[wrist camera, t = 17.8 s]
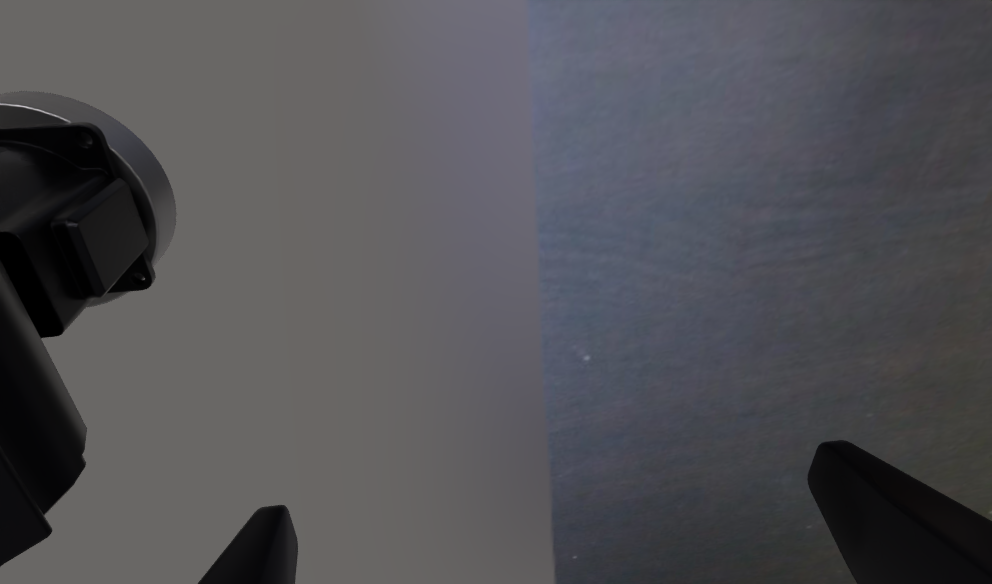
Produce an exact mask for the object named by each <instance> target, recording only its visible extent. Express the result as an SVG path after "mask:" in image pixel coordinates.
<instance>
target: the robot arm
mask: <svg viewBox="0 0 992 584" xmlns="http://www.w3.org/2000/svg"><path fill="white" fill-rule="evenodd" d="M81 132H85V133H87V134H89V135H90V136H91V138H92V144H90V143H87V142H85V141H84V140H83V139H82V137H81ZM148 244H149V241H148V238H147V235H146V232H145V230H144V227H143V224H142V221H141V219H140V216H139V213H138V210H137V208H136V205H135V202H134V199H133V196H132V194H131V191H130V188H129V185H128V184H127V183H126V182H125V181H124V180H122V179H121V178H120V176H119V173H118V171H117V168H116V165H115V162H114V160H113V157H112V154H111V152H110V149H109V146H108V143H107V141H106V138H105V135H104V134H103V132H102V130H101V129H100V128H99V127H97V126H96V125H94V124H92V123H88V122H74V123H57V124H39V125H22V126H4V127H0V566H1V565H3V564H4V563H6V562H7V561H9V560H11V559H13V558H14V557H16V556H17V555H19V554H21V553H23V552H24V551H26V550H27V549H29V548H30V547H32V546H34V545H36V544H37V543H39V542H41V541H42V540H44V539H45V538H47V537H48V536H49V535H50V534H51V532H52V528H51V526H50V525H49V523H48V521H47V520H46V518H45V517H44V515H45V514H46V513H47V512H48V511H49V510H50V509H51V508H52V507H53V506H54V505H55V504H56V503H57V502H58V501H59V500H60V499H61V498H62V497H63V496H64V495H65V494H66V493H67V492H68V491H69V489H70V488H71V487H72V486H73V485H74V483H75V481H76V480H77V478H78V477H79V475H80V474H81V472H82V471H83V469H84V468H85V465H86V462H85V460H84V458H83V456H82V454H83V452H84V449H85V441H86V432H87V428H86V426H85V424H84V422H83V420H82V418H81V416H80V414H79V412H78V410H77V408H76V406H75V404H74V402H73V400H72V398H71V396H70V395H69V393H68V391H67V389H66V387H65V385H64V383H63V381H62V379H61V377H60V375H59V373H58V371H57V369H56V367H55V365H54V363H53V362H52V360H51V358H50V356H49V354H48V352H47V350H46V348H45V346H44V344H43V342H42V340H41V338H45V337H54V336H59V335H61V334H62V333H63V332H64V331H65V330H66V329H67V328H68V327H69V326H70V324H71V323H72V322H73V321H74V320H75V319H76V318H77V317H78V315H80V313H81V312H82V311H83V310H84V309H85V308H86V307H87V306H88V305H89V303H90V302H91V301H92V300H93V299H97V298H102V297H103V296H104V295H105V294H106V293H117V292H128V291H139V290H144V289H147V288H149V287H150V286H151V284H152V283H153V282H154V280H155V272H154V269H153V266H152V263H151V261H150V258H149V255H148V253H147V250H146V247H147V246H148ZM135 273H137V274H141V275H143V276H144V278H145V280H140V279H138V278H137V277H136V276H135ZM808 485H809V488H810V491H811V493H812V495H813V497H814V499H815V501H816V503H817V505H818V507H819V509H820V511H821V513H822V515H823V517H824V519H825V521H826V523H827V525H828V527H829V529H830V531H831V533H832V535H833V538H834V540H835V542H836V544H837V546H838V548H839V550H840V552H841V554H842V556H843V558H844V560H845V562H846V564H847V566H848V568H849V569H850V571H851V573H852V575H853V577H854V578H855V580H856V582H857V584H992V521H990V520H989V519H987V518H985V517H983V516H981V515H980V514H978V513H976V512H974V511H972V510H971V509H969V508H967V507H965V506H963V505H962V504H960V503H958V502H956V501H954V500H953V499H951V498H949V497H947V496H945V495H944V494H942V493H940V492H938V491H936V490H935V489H933V488H931V487H929V486H927V485H926V484H924V483H922V482H920V481H918V480H917V479H915V478H913V477H911V476H909V475H908V474H906V473H904V472H902V471H900V470H899V469H897V468H895V467H893V466H891V465H890V464H888V463H886V462H884V461H882V460H881V459H879V458H877V457H875V456H874V455H872V454H870V453H868V452H866V451H865V450H863V449H861V448H859V447H857V446H856V445H854V444H852V443H850V442H848V441H844V440H838V441H829V442H823V443H821V444H820V445H819V446H818V448H817V450H816V453H815V456H814V459H813V461H812V464H811V467H810V470H809V473H808ZM297 554H298V543H297V537H296V534H295V530H294V527H293V524H292V520H291V517H290V514H289V511H288V509H287V507H286V506H284V505H278V506H269V507H262V508H260V509H258V510H257V511H256V512H255V513H254V514H253V515H252V517H251V518H250V519H249V520H248V521H247V523H246V524H245V525H244V526H243V528H242V529H241V530H240V531H239V533H238V534H237V535H236V536H235V538H234V539H233V540H232V542H231V543H230V544H229V545H228V547H227V548H226V549H225V550H224V552H223V553H222V554H221V555H220V556H219V558H218V559H217V560H216V561H215V563H214V564H213V565H212V566H211V568H210V569H209V570H208V572H207V573H206V574H205V575H204V576H203V578H202V579H201V580H200V581H199V583H198V584H295V575H296V564H297Z"/></svg>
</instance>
